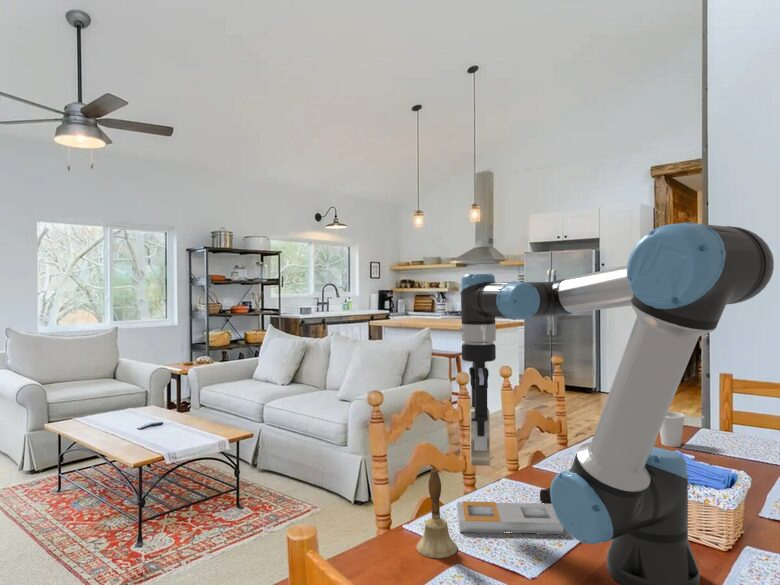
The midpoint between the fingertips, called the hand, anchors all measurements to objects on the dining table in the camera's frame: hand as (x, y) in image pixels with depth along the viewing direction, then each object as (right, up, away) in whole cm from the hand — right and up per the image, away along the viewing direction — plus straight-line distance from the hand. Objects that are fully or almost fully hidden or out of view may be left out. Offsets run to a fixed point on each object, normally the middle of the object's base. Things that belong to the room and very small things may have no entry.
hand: (479, 446), depth 118 cm
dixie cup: (+73, -16, +56) cm, 93 cm away
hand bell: (-11, -18, -11) cm, 23 cm away
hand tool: (+25, -17, +15) cm, 34 cm away
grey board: (+6, -17, 0) cm, 18 cm away
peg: (0, -4, 0) cm, 4 cm away
